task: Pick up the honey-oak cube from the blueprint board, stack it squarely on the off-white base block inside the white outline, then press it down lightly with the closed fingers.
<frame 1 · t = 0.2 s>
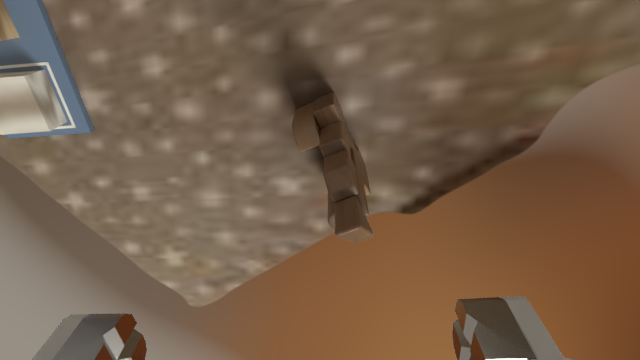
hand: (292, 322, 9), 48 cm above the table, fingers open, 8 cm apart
base block: (31, 98, 55), point 1 cm above the table, touching blueprint board
wooden toy: (332, 142, 59), on the table
blueprint board: (20, 63, 53), on the table
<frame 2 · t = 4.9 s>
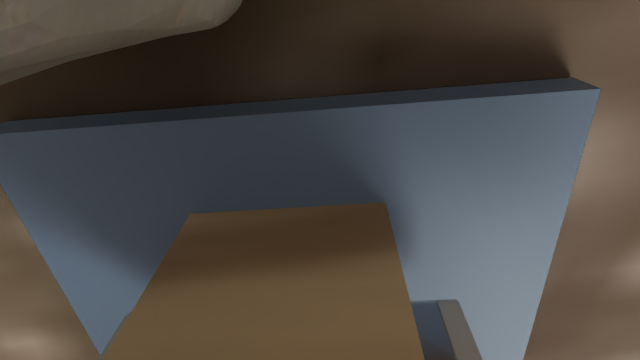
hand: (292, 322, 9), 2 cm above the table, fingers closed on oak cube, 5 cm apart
oak cube: (297, 281, 10), point 1 cm above the table, touching blueprint board, gripper
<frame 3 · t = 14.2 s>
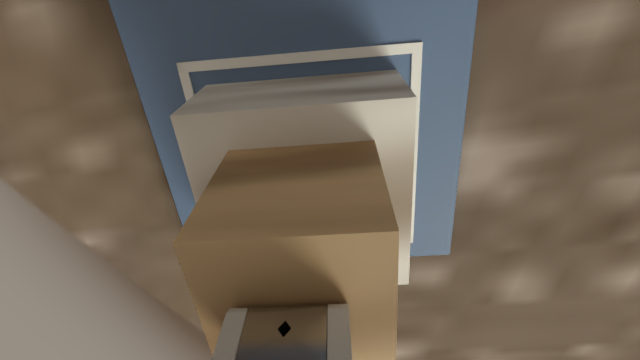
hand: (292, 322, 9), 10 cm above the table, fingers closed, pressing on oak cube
oak cube: (307, 207, 14), point 5 cm above the table, touching base block, gripper
base block: (309, 163, 17), point 1 cm above the table, touching blueprint board, oak cube
blueprint board: (298, 48, 16), on the table
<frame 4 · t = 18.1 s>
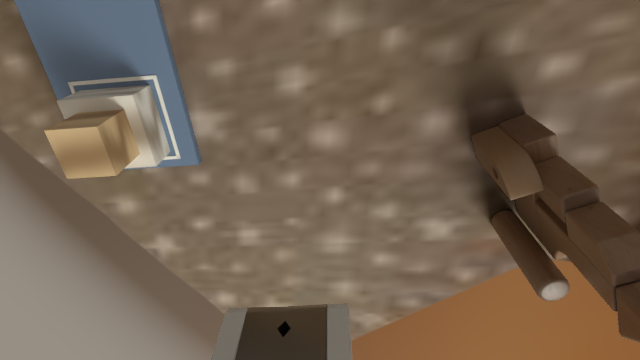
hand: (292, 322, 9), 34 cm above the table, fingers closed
oak cube: (109, 133, 38), point 5 cm above the table, touching base block
base block: (127, 122, 42), point 1 cm above the table, touching blueprint board, oak cube
wooden toy: (507, 176, 46), on the table
blueprint board: (116, 76, 40), on the table
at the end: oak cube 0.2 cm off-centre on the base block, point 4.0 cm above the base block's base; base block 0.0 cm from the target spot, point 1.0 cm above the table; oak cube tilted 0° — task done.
